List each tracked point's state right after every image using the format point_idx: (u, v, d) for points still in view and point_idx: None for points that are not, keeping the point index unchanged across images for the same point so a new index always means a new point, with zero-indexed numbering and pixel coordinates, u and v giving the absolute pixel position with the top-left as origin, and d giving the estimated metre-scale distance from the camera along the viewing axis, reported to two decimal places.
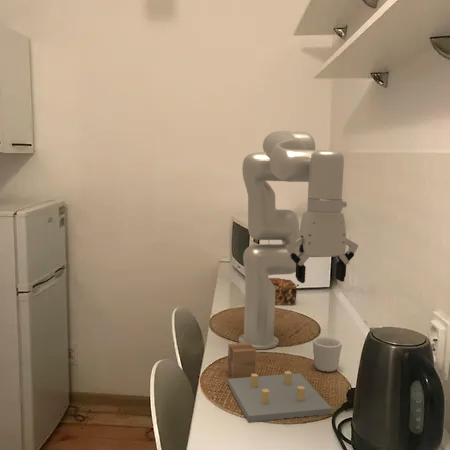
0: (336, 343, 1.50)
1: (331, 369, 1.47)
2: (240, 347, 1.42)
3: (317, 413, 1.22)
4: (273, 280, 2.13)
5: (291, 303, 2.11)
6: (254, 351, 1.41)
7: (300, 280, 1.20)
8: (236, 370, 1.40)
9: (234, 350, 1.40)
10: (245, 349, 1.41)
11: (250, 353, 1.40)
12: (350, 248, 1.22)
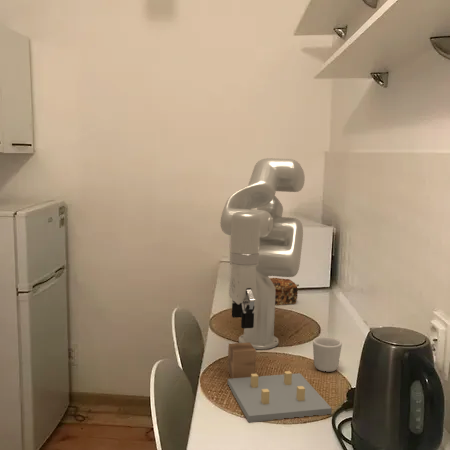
0: (336, 343, 1.50)
1: (331, 369, 1.47)
2: (241, 347, 1.42)
3: (317, 413, 1.22)
4: (274, 280, 2.13)
5: (292, 302, 2.13)
6: (254, 351, 1.41)
7: (249, 326, 1.36)
8: (236, 370, 1.40)
9: (234, 350, 1.40)
10: (245, 349, 1.41)
11: (251, 353, 1.40)
12: None
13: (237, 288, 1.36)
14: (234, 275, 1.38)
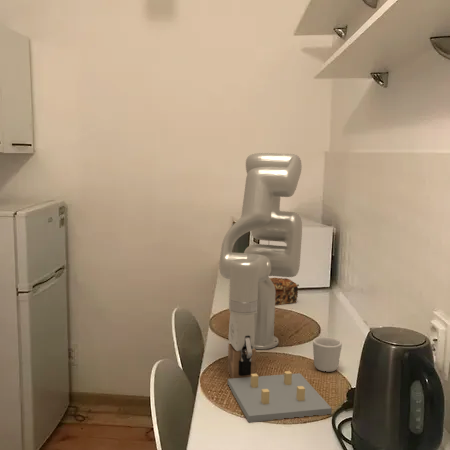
0: (336, 343, 1.50)
1: (331, 369, 1.47)
2: None
3: (317, 413, 1.22)
4: (275, 280, 2.13)
5: (293, 301, 2.14)
6: (254, 351, 1.41)
7: (246, 373, 1.40)
8: (236, 370, 1.40)
9: (234, 350, 1.40)
10: None
11: None
12: None
13: (236, 335, 1.38)
14: (233, 322, 1.40)
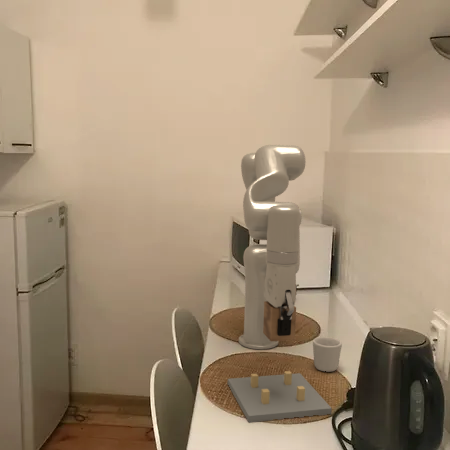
0: (336, 343, 1.50)
1: (331, 369, 1.47)
2: None
3: (317, 413, 1.22)
4: None
5: None
6: (294, 308, 1.25)
7: (286, 333, 1.25)
8: (274, 330, 1.25)
9: (272, 307, 1.25)
10: None
11: None
12: None
13: (275, 290, 1.23)
14: (271, 275, 1.25)
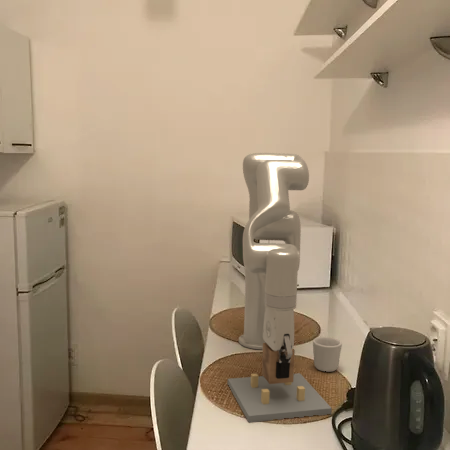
0: (336, 343, 1.50)
1: (331, 369, 1.47)
2: None
3: (317, 413, 1.22)
4: None
5: None
6: (293, 351, 1.26)
7: (285, 376, 1.26)
8: (273, 372, 1.26)
9: (271, 350, 1.26)
10: None
11: None
12: None
13: (274, 334, 1.24)
14: (269, 318, 1.26)
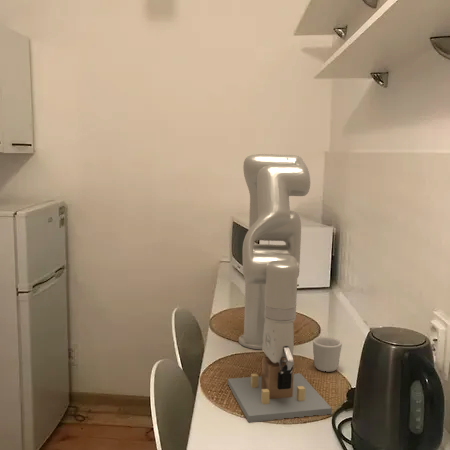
0: (336, 343, 1.50)
1: (331, 369, 1.47)
2: (276, 362, 1.29)
3: (317, 413, 1.22)
4: None
5: None
6: None
7: (286, 387, 1.25)
8: (272, 388, 1.27)
9: (270, 365, 1.27)
10: (282, 364, 1.27)
11: None
12: None
13: (273, 346, 1.24)
14: (269, 330, 1.27)
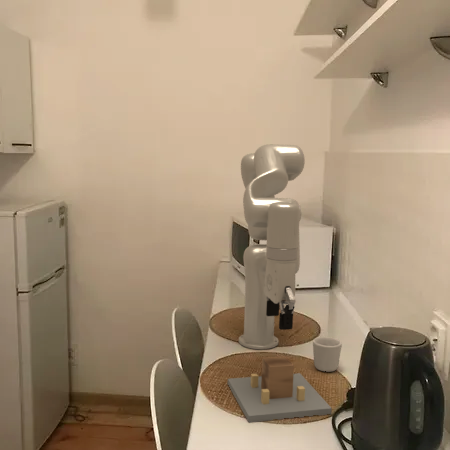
0: (336, 343, 1.50)
1: (331, 369, 1.47)
2: (276, 362, 1.29)
3: (317, 413, 1.22)
4: None
5: None
6: (292, 366, 1.27)
7: (288, 327, 1.25)
8: (272, 388, 1.27)
9: (270, 365, 1.27)
10: (282, 364, 1.27)
11: (288, 368, 1.27)
12: None
13: (275, 286, 1.24)
14: (271, 271, 1.26)
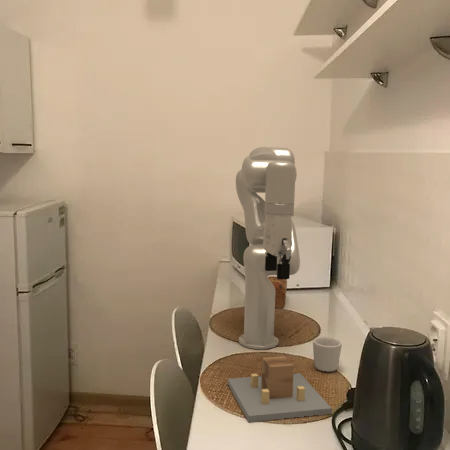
0: (336, 343, 1.50)
1: (331, 369, 1.47)
2: (276, 362, 1.29)
3: (317, 413, 1.22)
4: None
5: None
6: (292, 366, 1.27)
7: (285, 277, 1.34)
8: (272, 388, 1.27)
9: (270, 365, 1.27)
10: (282, 364, 1.27)
11: (288, 368, 1.27)
12: None
13: (273, 238, 1.34)
14: (269, 226, 1.36)
